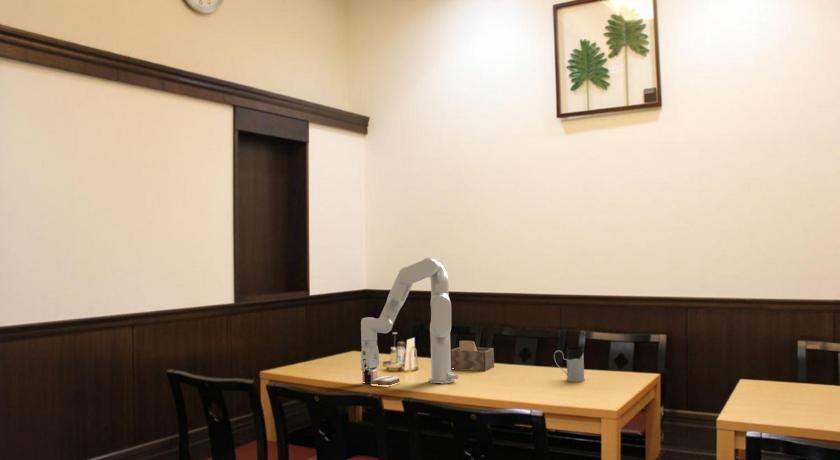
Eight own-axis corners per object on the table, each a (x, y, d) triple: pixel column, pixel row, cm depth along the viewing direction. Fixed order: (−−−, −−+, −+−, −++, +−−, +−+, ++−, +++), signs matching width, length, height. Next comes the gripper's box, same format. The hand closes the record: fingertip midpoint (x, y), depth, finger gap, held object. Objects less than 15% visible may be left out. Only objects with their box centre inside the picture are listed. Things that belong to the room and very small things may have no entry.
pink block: (377, 382, 320) (377, 369, 321) (373, 384, 317) (373, 370, 317) (366, 382, 323) (366, 368, 323) (362, 383, 320) (362, 370, 320)
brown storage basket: (494, 367, 358) (493, 348, 359) (485, 371, 346) (484, 351, 347) (460, 365, 367) (460, 346, 367) (450, 369, 355) (450, 350, 355)
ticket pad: (399, 383, 319) (399, 376, 319) (389, 387, 310) (389, 380, 310) (381, 382, 323) (381, 375, 323) (370, 386, 314) (370, 379, 314)
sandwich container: (485, 367, 362) (485, 339, 364) (474, 370, 349) (474, 341, 350) (471, 366, 366) (470, 338, 368) (459, 369, 353) (459, 340, 354)
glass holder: (585, 381, 313) (584, 349, 313) (554, 381, 316) (553, 349, 316) (584, 378, 321) (583, 346, 322) (554, 377, 324) (553, 346, 325)
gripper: (367, 346, 312) (367, 385, 311) (384, 341, 327) (385, 379, 326) (353, 345, 315) (354, 384, 314) (371, 341, 330) (372, 378, 329)
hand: (370, 381), depth 320 cm, fingers closed on pink block, 4 cm apart
